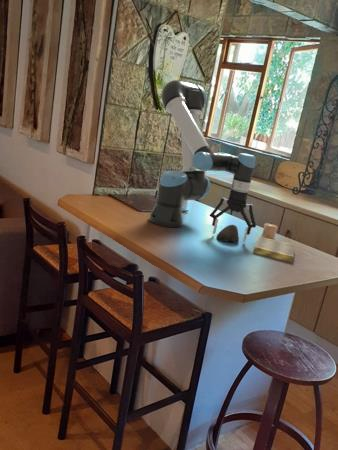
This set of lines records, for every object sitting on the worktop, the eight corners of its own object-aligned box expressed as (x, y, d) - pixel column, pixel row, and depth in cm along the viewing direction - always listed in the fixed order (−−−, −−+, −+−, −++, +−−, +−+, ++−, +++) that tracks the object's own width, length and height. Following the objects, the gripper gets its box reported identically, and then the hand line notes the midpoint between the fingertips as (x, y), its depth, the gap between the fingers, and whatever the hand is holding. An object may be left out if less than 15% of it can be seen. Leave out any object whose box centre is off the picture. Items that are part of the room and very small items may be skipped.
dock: (253, 252, 183) (254, 246, 182) (257, 241, 200) (258, 236, 199) (291, 262, 179) (293, 256, 178) (293, 250, 196) (294, 245, 195)
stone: (225, 252, 189) (245, 239, 188) (215, 236, 188) (234, 223, 187) (223, 248, 199) (242, 236, 198) (213, 233, 198) (232, 220, 197)
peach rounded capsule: (260, 239, 204) (264, 225, 202) (261, 236, 210) (265, 222, 208) (273, 242, 203) (277, 228, 201) (274, 239, 208) (278, 225, 206)
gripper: (209, 184, 187) (199, 232, 193) (268, 198, 181) (256, 246, 187) (213, 182, 194) (203, 228, 200) (269, 195, 188) (257, 242, 194)
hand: (228, 237), depth 194 cm, fingers open, 13 cm apart
